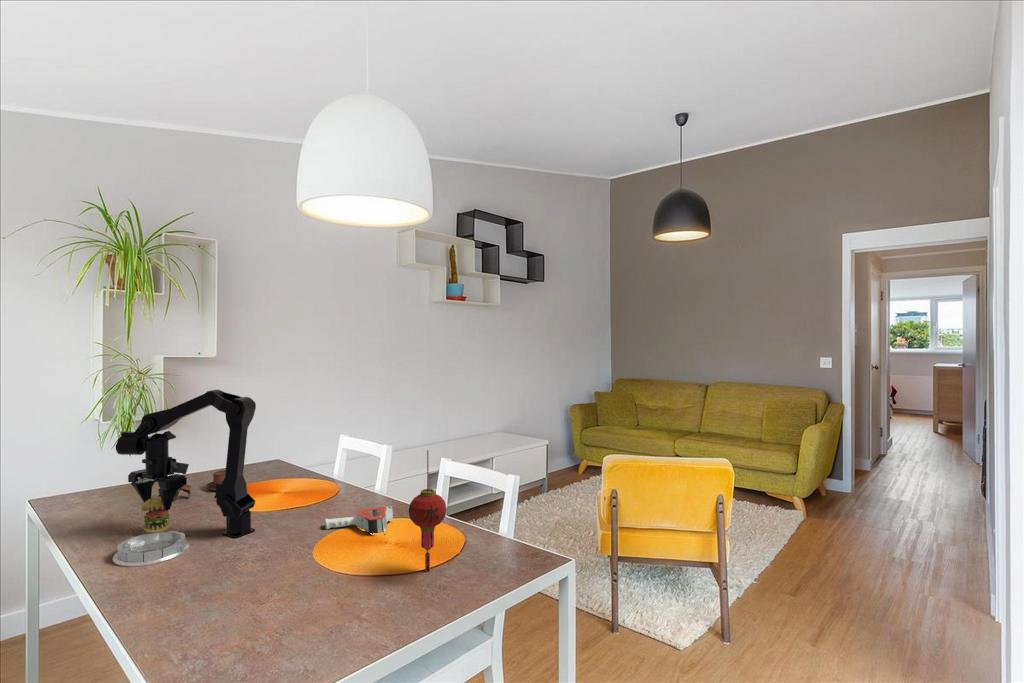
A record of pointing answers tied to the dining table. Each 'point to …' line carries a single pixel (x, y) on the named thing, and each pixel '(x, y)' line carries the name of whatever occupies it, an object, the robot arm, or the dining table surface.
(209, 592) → the dining table surface
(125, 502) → the dining table surface
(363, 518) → the tape dispenser
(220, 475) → the cup and saucer
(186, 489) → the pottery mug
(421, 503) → the lantern
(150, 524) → the hamburger
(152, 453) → the robot arm
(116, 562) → the collar
